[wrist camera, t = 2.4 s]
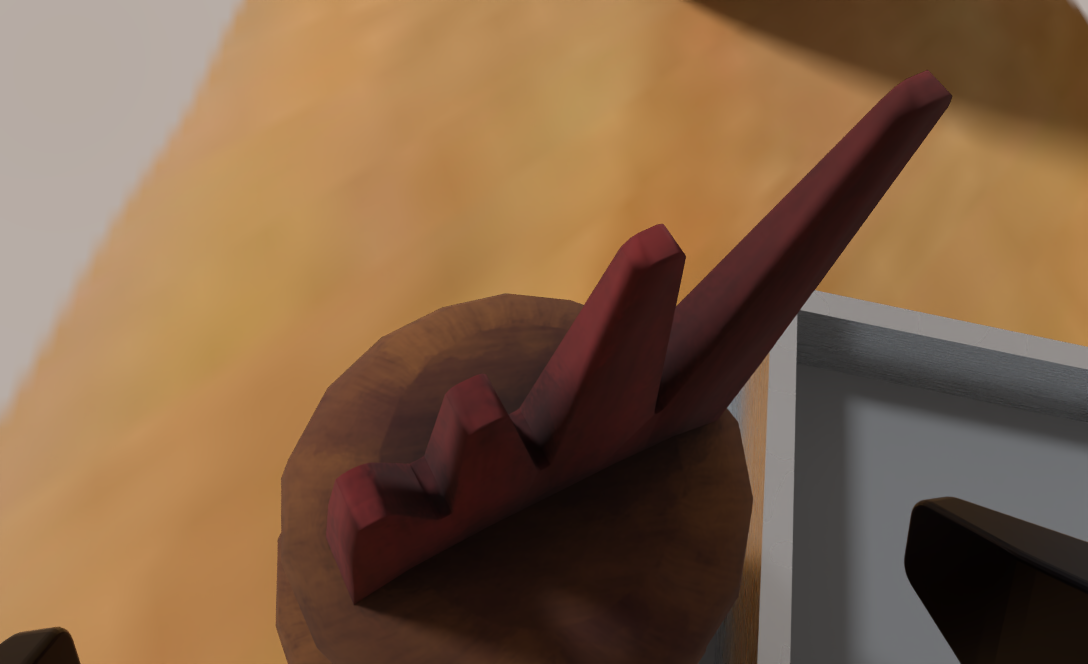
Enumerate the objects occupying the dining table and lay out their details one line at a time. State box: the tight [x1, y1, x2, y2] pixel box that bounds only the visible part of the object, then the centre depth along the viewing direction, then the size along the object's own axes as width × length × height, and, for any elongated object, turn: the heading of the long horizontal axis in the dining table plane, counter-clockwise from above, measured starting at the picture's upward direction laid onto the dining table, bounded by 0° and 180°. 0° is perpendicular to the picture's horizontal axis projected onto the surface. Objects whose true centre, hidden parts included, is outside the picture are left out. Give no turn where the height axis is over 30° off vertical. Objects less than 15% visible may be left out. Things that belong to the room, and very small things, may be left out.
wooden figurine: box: [276, 70, 952, 664], centre depth 10 cm, size 7×6×15 cm
